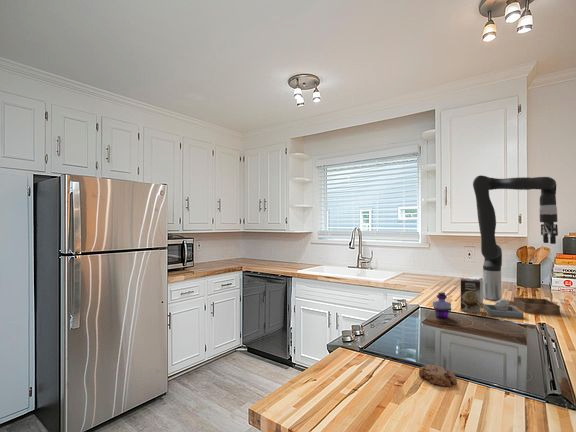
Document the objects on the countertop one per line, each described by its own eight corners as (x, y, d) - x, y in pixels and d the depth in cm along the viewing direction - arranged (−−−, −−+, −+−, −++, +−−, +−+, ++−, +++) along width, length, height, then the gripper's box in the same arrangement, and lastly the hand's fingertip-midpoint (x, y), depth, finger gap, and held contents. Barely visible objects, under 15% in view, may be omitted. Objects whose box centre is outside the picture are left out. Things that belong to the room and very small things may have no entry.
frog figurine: (504, 314, 158) (503, 300, 158) (491, 311, 165) (491, 297, 165) (513, 313, 160) (513, 299, 160) (500, 310, 166) (500, 296, 167)
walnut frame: (524, 312, 164) (524, 303, 164) (513, 305, 178) (513, 297, 178) (560, 314, 160) (559, 305, 160) (546, 307, 174) (545, 299, 174)
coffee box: (460, 311, 168) (460, 280, 168) (460, 308, 173) (460, 278, 174) (480, 313, 163) (480, 281, 164) (480, 310, 169) (479, 279, 170)
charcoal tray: (491, 316, 158) (491, 311, 158) (483, 309, 171) (483, 304, 171) (523, 318, 154) (523, 313, 154) (513, 311, 167) (512, 306, 167)
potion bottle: (454, 320, 152) (453, 294, 152) (434, 319, 154) (434, 294, 154) (449, 315, 160) (448, 291, 161) (430, 314, 162) (430, 290, 162)
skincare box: (472, 301, 188) (471, 276, 188) (483, 303, 183) (483, 277, 183) (466, 303, 182) (465, 277, 183) (477, 305, 178) (477, 279, 178)
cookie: (424, 368, 103) (424, 358, 103) (461, 378, 96) (460, 368, 96) (413, 380, 95) (413, 369, 95) (452, 392, 88) (452, 381, 88)
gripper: (534, 214, 183) (535, 242, 182) (545, 213, 169) (546, 244, 169) (550, 213, 180) (551, 242, 180) (563, 213, 167) (564, 244, 166)
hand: (549, 243), depth 174 cm, fingers open, 8 cm apart
